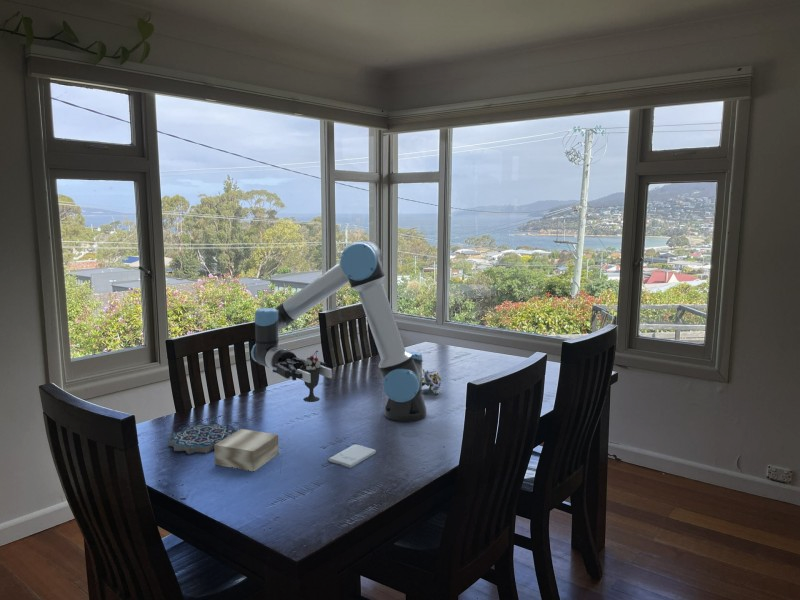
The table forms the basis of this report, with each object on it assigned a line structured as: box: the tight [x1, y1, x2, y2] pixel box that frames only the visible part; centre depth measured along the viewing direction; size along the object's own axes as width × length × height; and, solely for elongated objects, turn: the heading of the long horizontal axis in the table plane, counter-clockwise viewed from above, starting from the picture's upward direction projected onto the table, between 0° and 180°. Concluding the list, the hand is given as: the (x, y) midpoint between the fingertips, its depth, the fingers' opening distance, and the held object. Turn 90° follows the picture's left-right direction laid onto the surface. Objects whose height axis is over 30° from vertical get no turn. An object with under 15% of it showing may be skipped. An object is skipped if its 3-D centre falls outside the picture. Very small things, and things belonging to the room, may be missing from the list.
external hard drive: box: [328, 443, 377, 469], centre depth 172 cm, size 2×8×12 cm
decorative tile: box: [168, 422, 238, 455], centre depth 183 cm, size 20×20×2 cm
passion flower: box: [422, 368, 442, 396], centre depth 233 cm, size 11×11×12 cm
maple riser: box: [214, 428, 280, 472], centre depth 169 cm, size 13×13×6 cm
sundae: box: [300, 350, 323, 403], centre depth 175 cm, size 7×7×15 cm
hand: (320, 375), depth 171 cm, fingers closed on sundae, 7 cm apart
